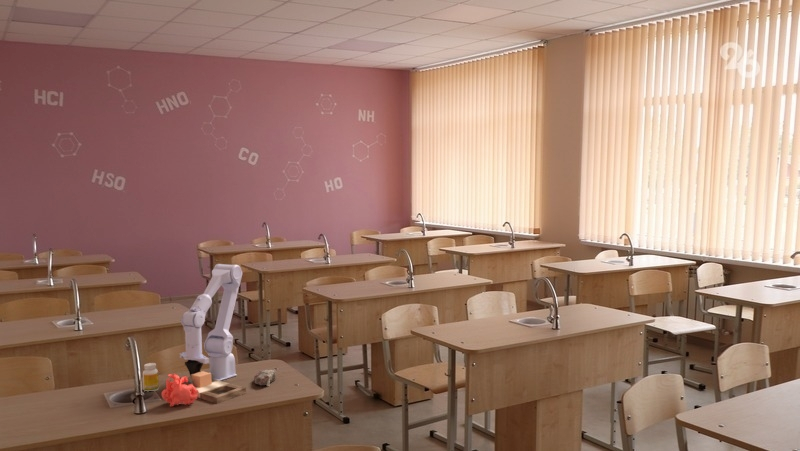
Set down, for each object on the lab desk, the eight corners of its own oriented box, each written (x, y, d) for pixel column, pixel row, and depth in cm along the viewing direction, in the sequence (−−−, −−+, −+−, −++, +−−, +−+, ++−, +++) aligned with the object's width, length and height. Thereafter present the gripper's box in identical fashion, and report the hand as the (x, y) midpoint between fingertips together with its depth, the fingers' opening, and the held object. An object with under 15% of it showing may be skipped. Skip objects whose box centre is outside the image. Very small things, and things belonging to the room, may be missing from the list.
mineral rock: (261, 375, 265) (260, 364, 265) (280, 376, 264) (280, 365, 264) (247, 388, 251) (246, 376, 251) (268, 388, 250) (267, 377, 249)
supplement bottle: (141, 389, 250) (140, 364, 249) (155, 386, 253) (154, 361, 252) (146, 393, 246) (145, 367, 245) (161, 390, 249) (160, 364, 248)
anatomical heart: (199, 409, 233) (199, 379, 229) (162, 414, 229) (161, 384, 225) (197, 395, 241) (196, 366, 237) (161, 399, 237) (160, 370, 233)
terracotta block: (202, 381, 252) (202, 371, 252) (211, 384, 249) (211, 373, 249) (191, 385, 248) (191, 374, 248) (200, 387, 245) (200, 376, 245)
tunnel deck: (196, 379, 261) (195, 368, 260) (246, 393, 244) (245, 380, 244) (167, 389, 250) (166, 377, 250) (217, 403, 234) (216, 390, 234)
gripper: (172, 343, 251) (173, 379, 252) (197, 348, 242) (198, 386, 243) (188, 339, 256) (189, 374, 257) (213, 344, 248) (214, 381, 249)
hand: (194, 380), depth 251 cm, fingers closed
